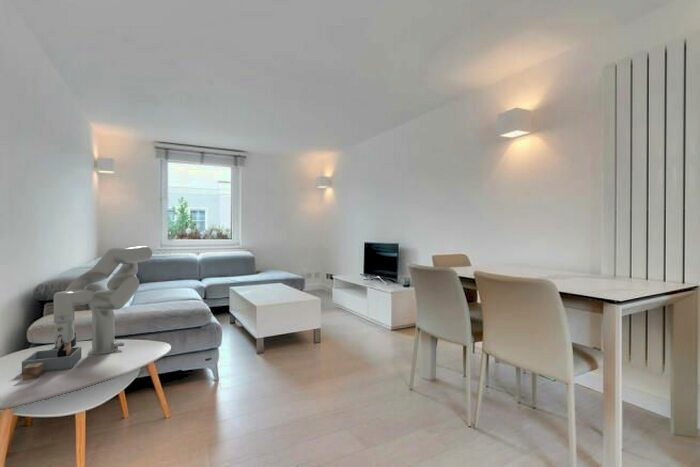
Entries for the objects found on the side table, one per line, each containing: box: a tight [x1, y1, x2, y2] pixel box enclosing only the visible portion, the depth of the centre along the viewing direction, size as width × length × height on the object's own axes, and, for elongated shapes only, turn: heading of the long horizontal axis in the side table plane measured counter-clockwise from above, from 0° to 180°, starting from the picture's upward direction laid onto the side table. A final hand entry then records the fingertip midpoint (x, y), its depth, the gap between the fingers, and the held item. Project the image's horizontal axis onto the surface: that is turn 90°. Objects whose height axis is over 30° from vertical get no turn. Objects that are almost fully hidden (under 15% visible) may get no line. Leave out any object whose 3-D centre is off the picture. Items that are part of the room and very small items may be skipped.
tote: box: [21, 346, 82, 375], centre depth 162 cm, size 17×14×6 cm
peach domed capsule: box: [61, 342, 72, 356], centre depth 163 cm, size 5×5×7 cm
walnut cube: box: [22, 363, 44, 381], centre depth 150 cm, size 5×5×5 cm
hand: (64, 356), depth 164 cm, fingers closed on peach domed capsule, 4 cm apart
